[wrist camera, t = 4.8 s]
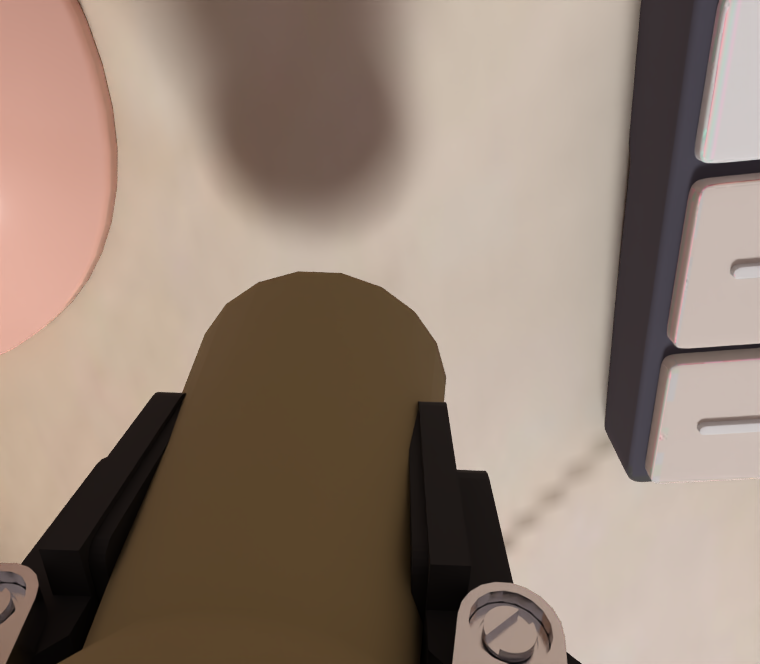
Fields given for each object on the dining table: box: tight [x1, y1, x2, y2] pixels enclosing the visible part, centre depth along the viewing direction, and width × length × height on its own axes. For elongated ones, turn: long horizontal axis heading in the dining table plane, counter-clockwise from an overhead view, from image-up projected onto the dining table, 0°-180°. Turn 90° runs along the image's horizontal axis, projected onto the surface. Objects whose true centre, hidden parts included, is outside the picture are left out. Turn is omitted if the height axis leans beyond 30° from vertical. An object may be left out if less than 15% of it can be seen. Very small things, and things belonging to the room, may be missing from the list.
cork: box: [57, 271, 446, 664], centre depth 9 cm, size 6×6×11 cm
